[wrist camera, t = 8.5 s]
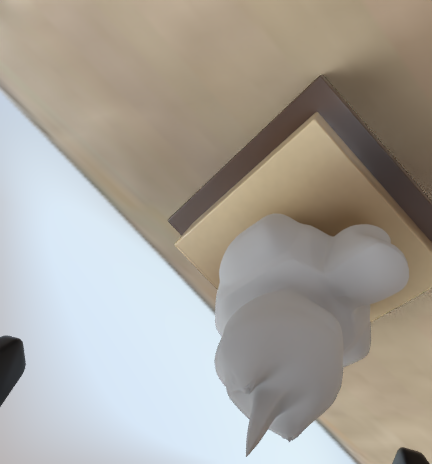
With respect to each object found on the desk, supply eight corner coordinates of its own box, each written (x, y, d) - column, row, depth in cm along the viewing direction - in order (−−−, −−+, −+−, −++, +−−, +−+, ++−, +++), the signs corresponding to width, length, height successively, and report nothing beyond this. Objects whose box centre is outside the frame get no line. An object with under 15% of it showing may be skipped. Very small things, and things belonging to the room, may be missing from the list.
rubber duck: (196, 251, 16) (86, 402, 9) (339, 149, 13) (351, 248, 6) (279, 350, 17) (240, 564, 9) (432, 273, 14) (542, 497, 7)
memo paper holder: (451, 223, 18) (495, 281, 13) (298, 319, 22) (289, 391, 17) (322, 73, 17) (318, 76, 12) (187, 201, 21) (144, 241, 16)
